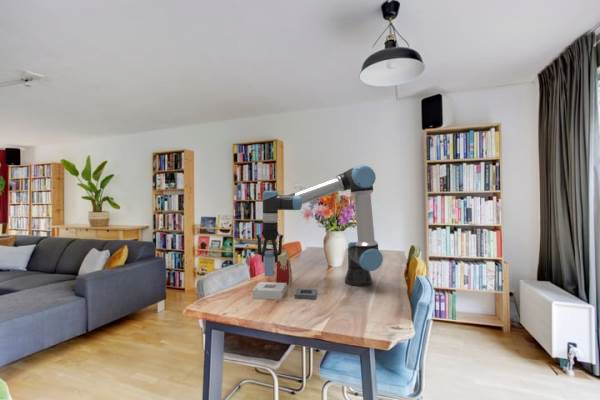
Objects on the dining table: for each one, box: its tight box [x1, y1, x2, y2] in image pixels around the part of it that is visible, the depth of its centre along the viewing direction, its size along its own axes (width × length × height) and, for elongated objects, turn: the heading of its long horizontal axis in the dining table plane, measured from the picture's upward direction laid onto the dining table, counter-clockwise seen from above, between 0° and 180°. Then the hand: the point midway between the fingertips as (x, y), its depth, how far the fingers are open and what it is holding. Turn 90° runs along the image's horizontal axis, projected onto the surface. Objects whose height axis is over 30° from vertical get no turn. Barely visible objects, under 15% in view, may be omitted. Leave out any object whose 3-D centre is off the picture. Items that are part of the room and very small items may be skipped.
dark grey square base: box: [294, 287, 318, 301], centre depth 143 cm, size 10×10×2 cm
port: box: [251, 281, 287, 301], centre depth 146 cm, size 14×14×4 cm
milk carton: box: [274, 247, 293, 287], centre depth 164 cm, size 9×9×20 cm
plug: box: [264, 249, 275, 277], centre depth 146 cm, size 4×4×12 cm
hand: (269, 268), depth 146 cm, fingers closed on plug, 4 cm apart
